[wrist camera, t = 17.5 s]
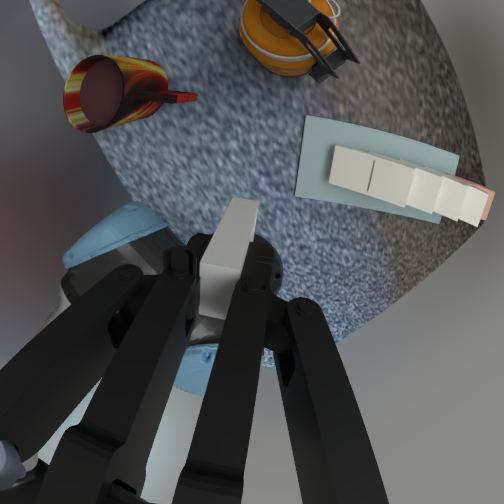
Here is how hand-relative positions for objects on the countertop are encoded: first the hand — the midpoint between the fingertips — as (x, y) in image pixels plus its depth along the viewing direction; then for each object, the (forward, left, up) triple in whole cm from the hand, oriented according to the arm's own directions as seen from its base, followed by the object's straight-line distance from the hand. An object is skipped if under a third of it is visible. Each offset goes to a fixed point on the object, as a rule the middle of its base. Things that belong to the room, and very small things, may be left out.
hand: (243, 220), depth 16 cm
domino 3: (+8, -16, -24) cm, 30 cm away
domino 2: (+6, -12, -24) cm, 27 cm away
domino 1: (+4, -8, -24) cm, 25 cm away
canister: (+13, +5, -25) cm, 29 cm away
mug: (-2, +20, -25) cm, 32 cm away
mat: (+7, -15, -25) cm, 30 cm away
